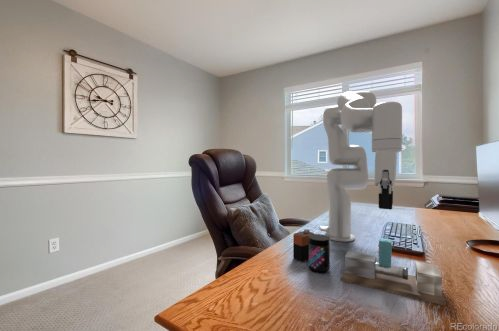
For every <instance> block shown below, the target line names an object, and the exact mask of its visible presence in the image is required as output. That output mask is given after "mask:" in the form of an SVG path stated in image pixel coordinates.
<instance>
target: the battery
mask: <svg viewBox="0 0 499 331" xmlns="http://www.w3.org/2000/svg"><path fill="white" fill-rule="evenodd" d="M312 234H315V233H314V232H311V230H310V229H307V228H305V229H303V230H302V231H301V230H300V231H298V232H295V233H293V235H292V236H293V238H292V239H293V245H292V246H293V250H292V252H293V255H292V256H293V259H294V260H296V261H298V262H301V263H303V262H308V236H309V235H312Z"/></svg>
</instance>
